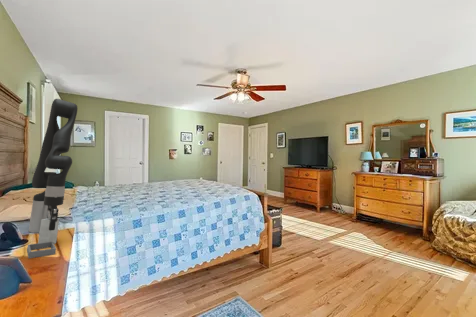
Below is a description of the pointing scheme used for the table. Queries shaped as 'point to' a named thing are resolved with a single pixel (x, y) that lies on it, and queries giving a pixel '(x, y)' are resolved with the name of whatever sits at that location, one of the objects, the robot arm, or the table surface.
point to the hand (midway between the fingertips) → (50, 228)
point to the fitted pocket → (41, 252)
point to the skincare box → (48, 231)
